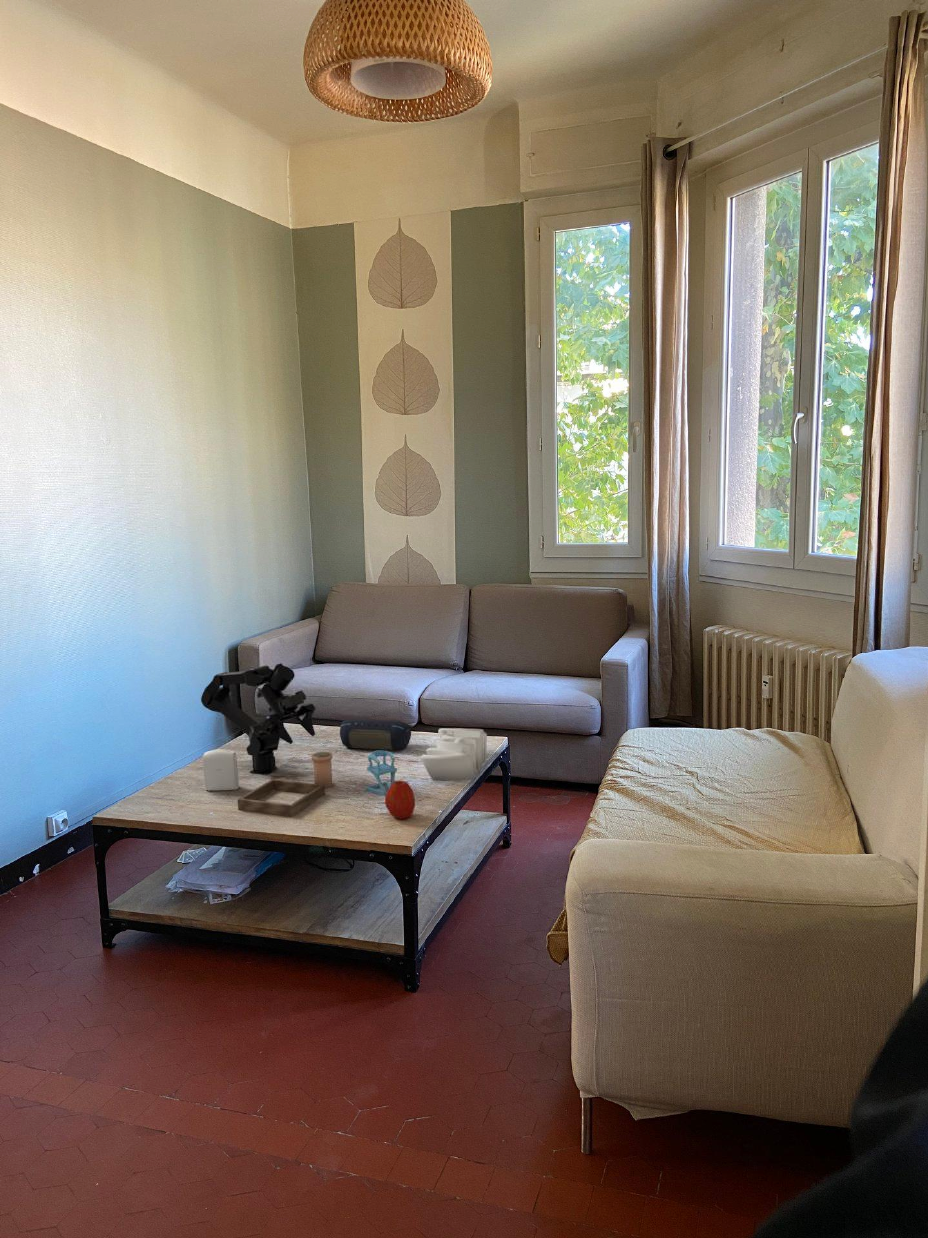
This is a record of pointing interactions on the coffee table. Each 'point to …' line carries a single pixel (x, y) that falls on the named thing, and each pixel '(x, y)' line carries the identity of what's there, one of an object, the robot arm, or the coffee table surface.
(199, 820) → the coffee table surface
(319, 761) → the terracotta pot
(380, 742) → the portable speaker
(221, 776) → the photo printer
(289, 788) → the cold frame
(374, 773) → the chair
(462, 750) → the white wavy slab sculpture
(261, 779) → the coffee table surface
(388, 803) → the apple
